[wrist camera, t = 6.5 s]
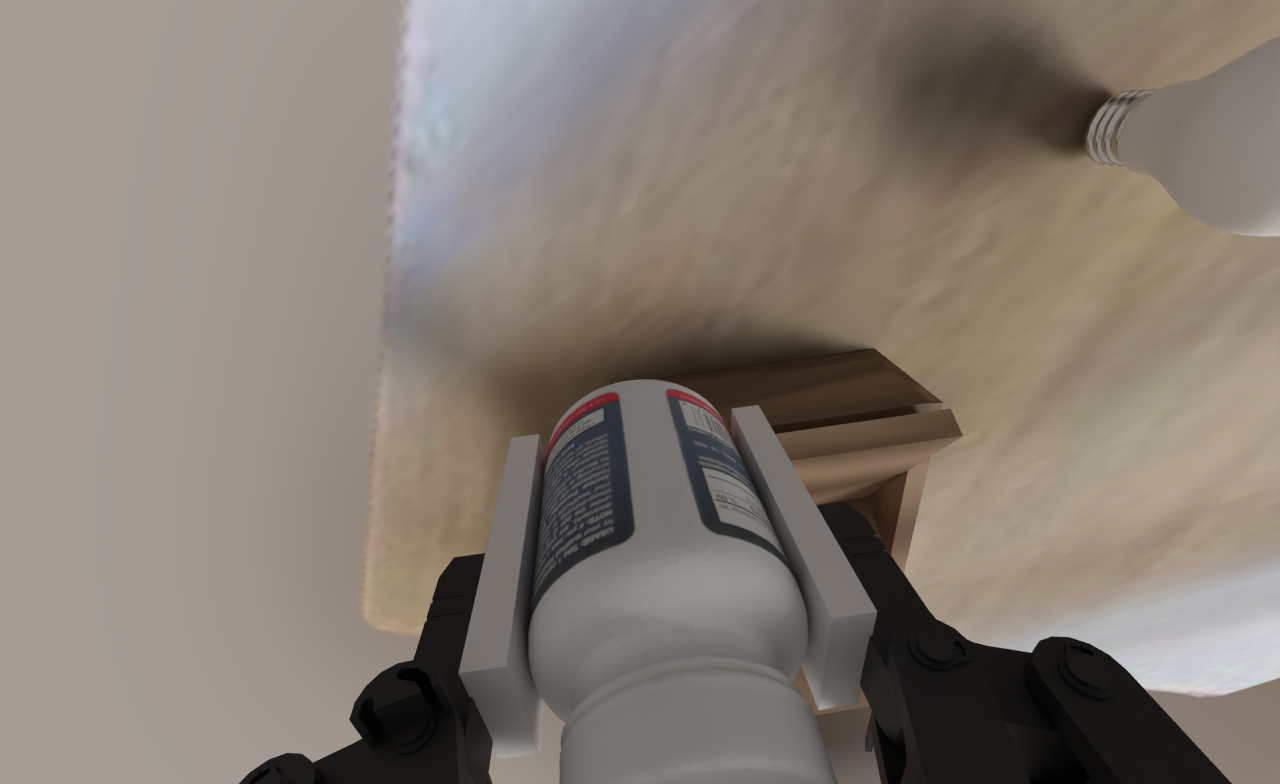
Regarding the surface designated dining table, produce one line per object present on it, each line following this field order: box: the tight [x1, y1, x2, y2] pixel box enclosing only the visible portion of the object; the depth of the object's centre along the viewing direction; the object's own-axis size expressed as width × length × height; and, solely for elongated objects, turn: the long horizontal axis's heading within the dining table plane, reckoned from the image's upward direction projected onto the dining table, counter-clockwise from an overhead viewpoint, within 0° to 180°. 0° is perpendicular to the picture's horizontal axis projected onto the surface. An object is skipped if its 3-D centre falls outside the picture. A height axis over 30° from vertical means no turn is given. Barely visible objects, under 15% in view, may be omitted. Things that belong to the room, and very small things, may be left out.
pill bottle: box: [528, 379, 838, 784], centre depth 11 cm, size 5×5×9 cm
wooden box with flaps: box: [652, 349, 963, 715], centre depth 27 cm, size 17×15×11 cm
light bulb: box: [1083, 36, 1280, 236], centre depth 19 cm, size 7×7×11 cm
